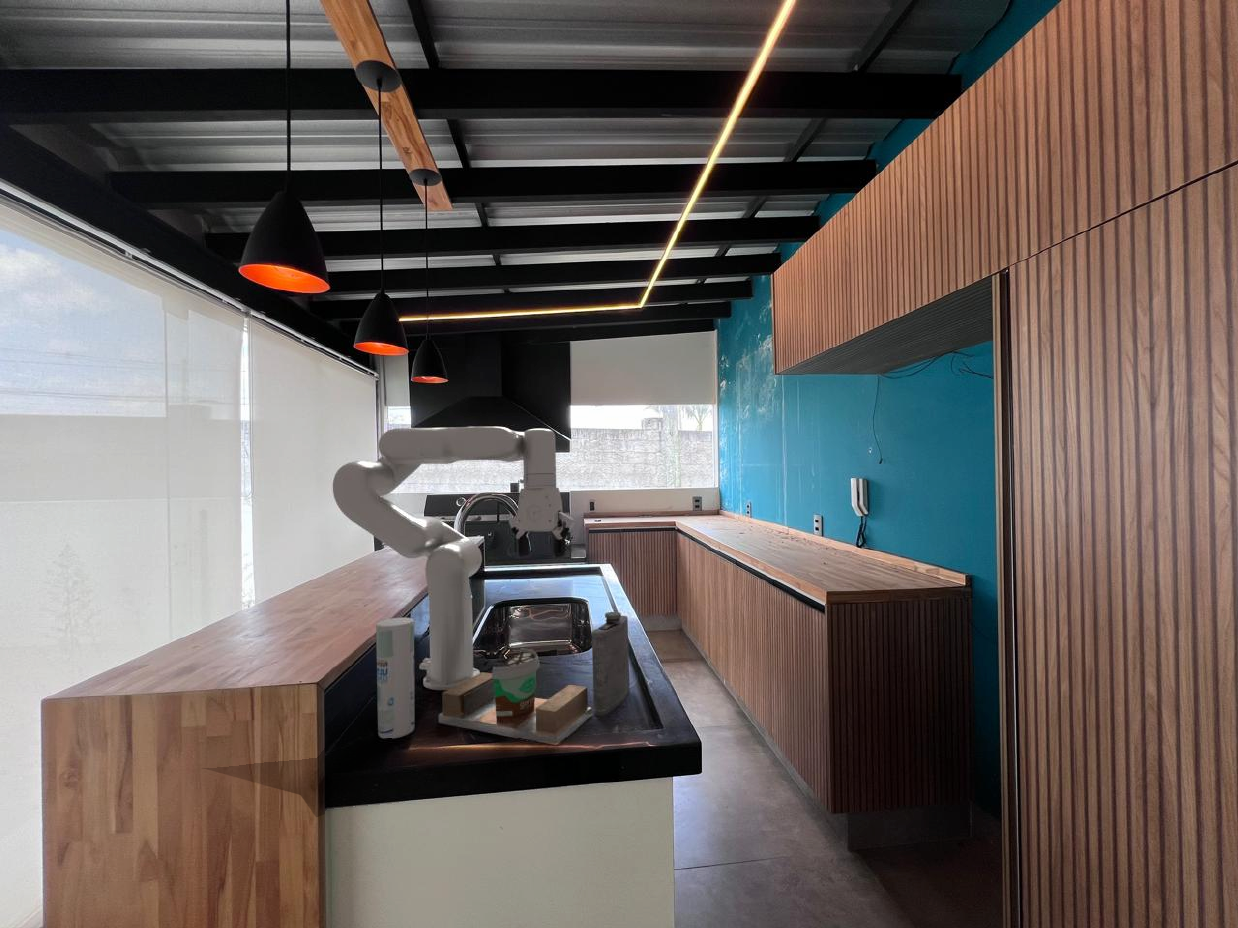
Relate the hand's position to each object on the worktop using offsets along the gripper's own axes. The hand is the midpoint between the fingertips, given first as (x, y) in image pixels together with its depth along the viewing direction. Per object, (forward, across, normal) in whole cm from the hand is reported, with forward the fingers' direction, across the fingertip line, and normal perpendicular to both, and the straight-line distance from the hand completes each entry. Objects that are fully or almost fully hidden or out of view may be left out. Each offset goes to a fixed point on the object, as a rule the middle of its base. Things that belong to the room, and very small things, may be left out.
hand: (541, 555), depth 125 cm
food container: (+27, +8, -20) cm, 34 cm away
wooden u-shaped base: (+28, +6, -20) cm, 35 cm away
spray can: (+28, -12, -32) cm, 44 cm away
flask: (+28, +20, -6) cm, 35 cm away
